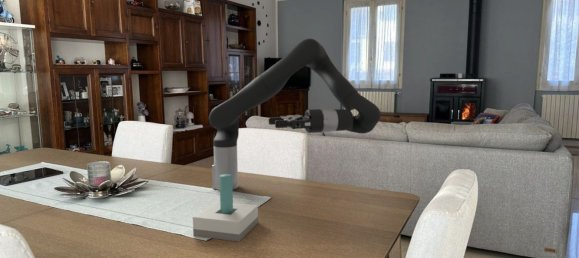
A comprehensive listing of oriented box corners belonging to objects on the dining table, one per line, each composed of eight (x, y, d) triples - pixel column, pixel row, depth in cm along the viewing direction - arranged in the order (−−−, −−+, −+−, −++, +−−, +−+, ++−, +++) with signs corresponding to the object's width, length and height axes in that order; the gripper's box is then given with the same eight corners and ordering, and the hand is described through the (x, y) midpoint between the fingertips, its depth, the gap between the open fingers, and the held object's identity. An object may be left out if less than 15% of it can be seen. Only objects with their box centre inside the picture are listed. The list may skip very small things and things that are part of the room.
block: (193, 235, 109) (192, 216, 108) (216, 218, 122) (216, 201, 121) (239, 241, 105) (238, 222, 104) (258, 222, 118) (257, 205, 117)
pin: (218, 223, 112) (217, 176, 110) (224, 219, 116) (222, 173, 114) (230, 225, 111) (228, 177, 109) (235, 220, 114) (234, 174, 113)
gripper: (313, 107, 131) (266, 108, 126) (329, 111, 117) (277, 112, 113) (313, 129, 132) (266, 131, 127) (329, 135, 118) (277, 138, 114)
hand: (272, 122), depth 120 cm, fingers open, 8 cm apart
